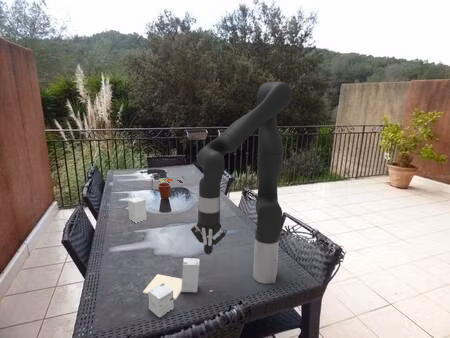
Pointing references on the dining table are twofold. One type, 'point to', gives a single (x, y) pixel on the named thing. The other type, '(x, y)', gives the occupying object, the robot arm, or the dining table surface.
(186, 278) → the skincare box
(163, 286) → the skincare box
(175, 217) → the dining table surface
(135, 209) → the supplement box
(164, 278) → the mat
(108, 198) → the dining table surface
